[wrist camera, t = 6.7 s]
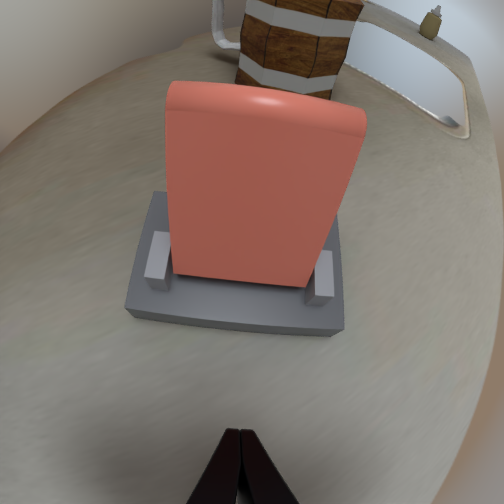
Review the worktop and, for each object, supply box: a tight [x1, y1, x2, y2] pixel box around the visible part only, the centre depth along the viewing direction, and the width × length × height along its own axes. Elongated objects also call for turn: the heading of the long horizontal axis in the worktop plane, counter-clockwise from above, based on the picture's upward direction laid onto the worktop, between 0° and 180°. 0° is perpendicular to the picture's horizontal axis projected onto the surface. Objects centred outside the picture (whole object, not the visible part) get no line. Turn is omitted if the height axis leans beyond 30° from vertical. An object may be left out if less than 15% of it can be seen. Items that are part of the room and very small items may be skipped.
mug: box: [212, 0, 364, 100], centre depth 28 cm, size 20×14×15 cm
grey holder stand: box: [124, 191, 344, 337], centre depth 19 cm, size 9×14×4 cm, turn 86°
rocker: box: [165, 81, 367, 287], centre depth 14 cm, size 2×8×11 cm, turn 87°
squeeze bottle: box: [420, 5, 442, 40], centre depth 68 cm, size 8×8×18 cm
